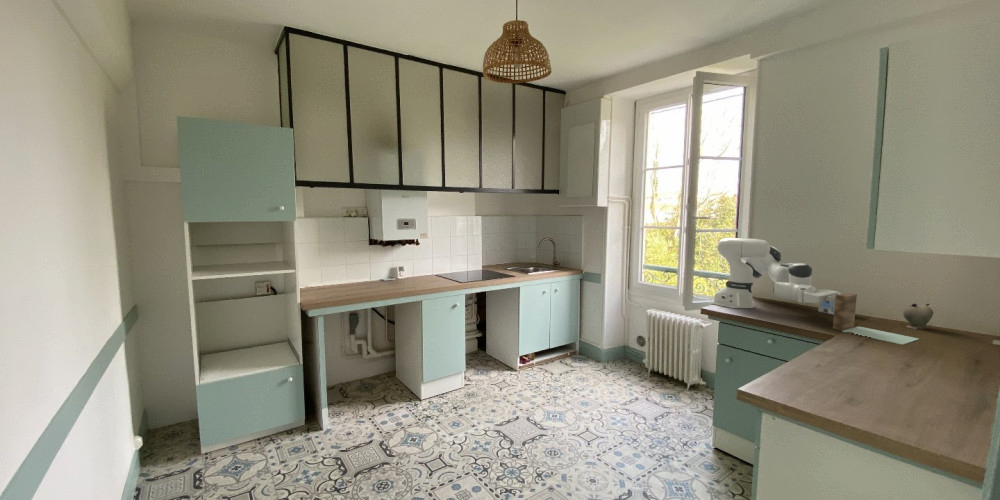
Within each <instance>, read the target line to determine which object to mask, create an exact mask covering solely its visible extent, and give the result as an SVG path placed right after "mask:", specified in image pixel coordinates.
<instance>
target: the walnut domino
mask: <svg viewBox="0 0 1000 500" xmlns="http://www.w3.org/2000/svg"><path fill="white" fill-rule="evenodd" d="M857 296H858V295H857V294H856V293H850V292H845V293H840V294H838V295H836V296H835V308H834V315H833V319H832V320H833V323H832V329H833V330H838V331H841V332H842V331H843V330H847V329H851V328H855V319H856V318H855V317H856V306H857Z"/></svg>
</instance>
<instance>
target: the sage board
mask: <svg viewBox="0 0 1000 500" xmlns="http://www.w3.org/2000/svg"><path fill="white" fill-rule="evenodd" d="M841 332H842V333H847V332H853V333H854V334H853V335H856V334H858V335H857V336H860V335H862V337H865V336H867V337H866V338H869V337H871V338H870V339H873V340H874V339H875V340H879V341H883V342H887V343H893V344H897V345H901V346H902V345H903V346H904V345H906V344H910V343H912V342H915V341H919V340H920V338H917V337H914V336H908V335H903V334H899V333H893V332H887V331H884V330H878V329H873V328H868V327H863V326H854V328H851V329H847V330H843V331H841Z"/></svg>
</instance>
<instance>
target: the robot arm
mask: <svg viewBox="0 0 1000 500" xmlns="http://www.w3.org/2000/svg"><path fill="white" fill-rule="evenodd" d="M717 251H718V253H719V255H721V256H722V257H724V259H725V260H726V261H727V263H728V266H729V274H730V275H729V279H728V280H727V281H726V282H725V287H723V288H721V289H720V290H718V291H716V292H715V295H714V298H712V299H711V300H709V304H711V305H717V306H722V307H726V308H731V309H753V308H755V305H754V300H753V291H754V285H753V284H754V282H753V278H754V279H759V278H761V277H762V276H763V275H764V274H766V272H767V275H768V277H769V278H770V279H771V281H773V282H774V284H773V287H772V290H773V295H774V296H776V297H778V298H781V299H785V300H789V301H792V300H793V301H797V302H798V303H802V304H803V303H806V304H819V303H822V302H826V301H835V296H836V295H838V294H839V293H840V291H837V290H831V289H817V288H816V287H815V286H814V285H812V275H813V268H812V266H810V265H809V264H808V263H803V262H800V263H799V262H783V263H780V262H782V255H781V252H780V251H779V249H778V248H776V247H775V246H773V245H770V244H769V243H768V241H767V240H764V239H759V238H744V237H741V238H739V237H727V238H722V239H720V241H719V242H718V244H717ZM743 261H746V262H743Z"/></svg>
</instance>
